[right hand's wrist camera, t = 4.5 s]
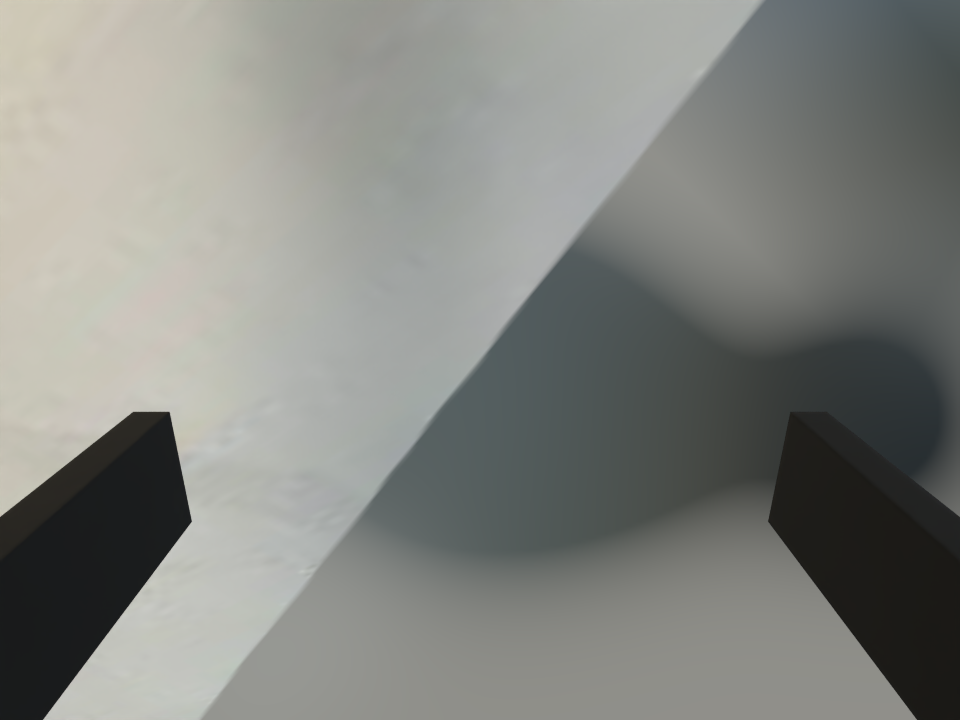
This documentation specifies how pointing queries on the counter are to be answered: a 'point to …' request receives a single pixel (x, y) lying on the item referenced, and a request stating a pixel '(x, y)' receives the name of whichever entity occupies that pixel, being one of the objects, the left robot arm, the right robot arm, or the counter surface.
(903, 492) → the right robot arm
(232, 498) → the counter surface
